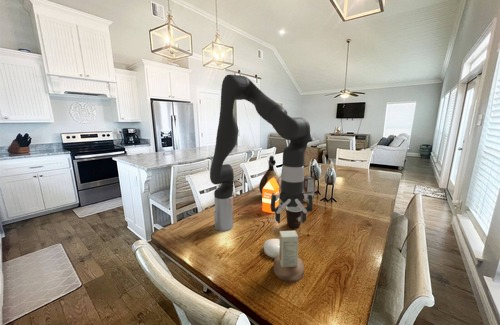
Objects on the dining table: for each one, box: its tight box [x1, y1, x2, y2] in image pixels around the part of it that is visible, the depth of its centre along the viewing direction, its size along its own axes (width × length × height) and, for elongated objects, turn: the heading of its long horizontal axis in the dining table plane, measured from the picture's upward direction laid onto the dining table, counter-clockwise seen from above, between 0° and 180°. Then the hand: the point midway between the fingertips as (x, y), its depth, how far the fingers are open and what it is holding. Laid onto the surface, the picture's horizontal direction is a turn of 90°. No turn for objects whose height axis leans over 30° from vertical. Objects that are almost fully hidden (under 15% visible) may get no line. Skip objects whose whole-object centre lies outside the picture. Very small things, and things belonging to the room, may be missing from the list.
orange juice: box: [261, 177, 280, 214], centre depth 127 cm, size 8×9×20 cm
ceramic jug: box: [258, 155, 281, 195], centre depth 146 cm, size 17×15×30 cm
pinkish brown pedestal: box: [273, 256, 305, 283], centre depth 77 cm, size 11×11×3 cm
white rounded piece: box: [263, 238, 280, 259], centre depth 88 cm, size 10×10×2 cm
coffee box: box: [302, 175, 316, 203], centre depth 142 cm, size 9×6×16 cm
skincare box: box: [279, 229, 299, 267], centre depth 75 cm, size 6×4×12 cm
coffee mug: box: [285, 206, 302, 230], centre depth 108 cm, size 12×9×10 cm
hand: (290, 221), depth 73 cm, fingers open, 8 cm apart
